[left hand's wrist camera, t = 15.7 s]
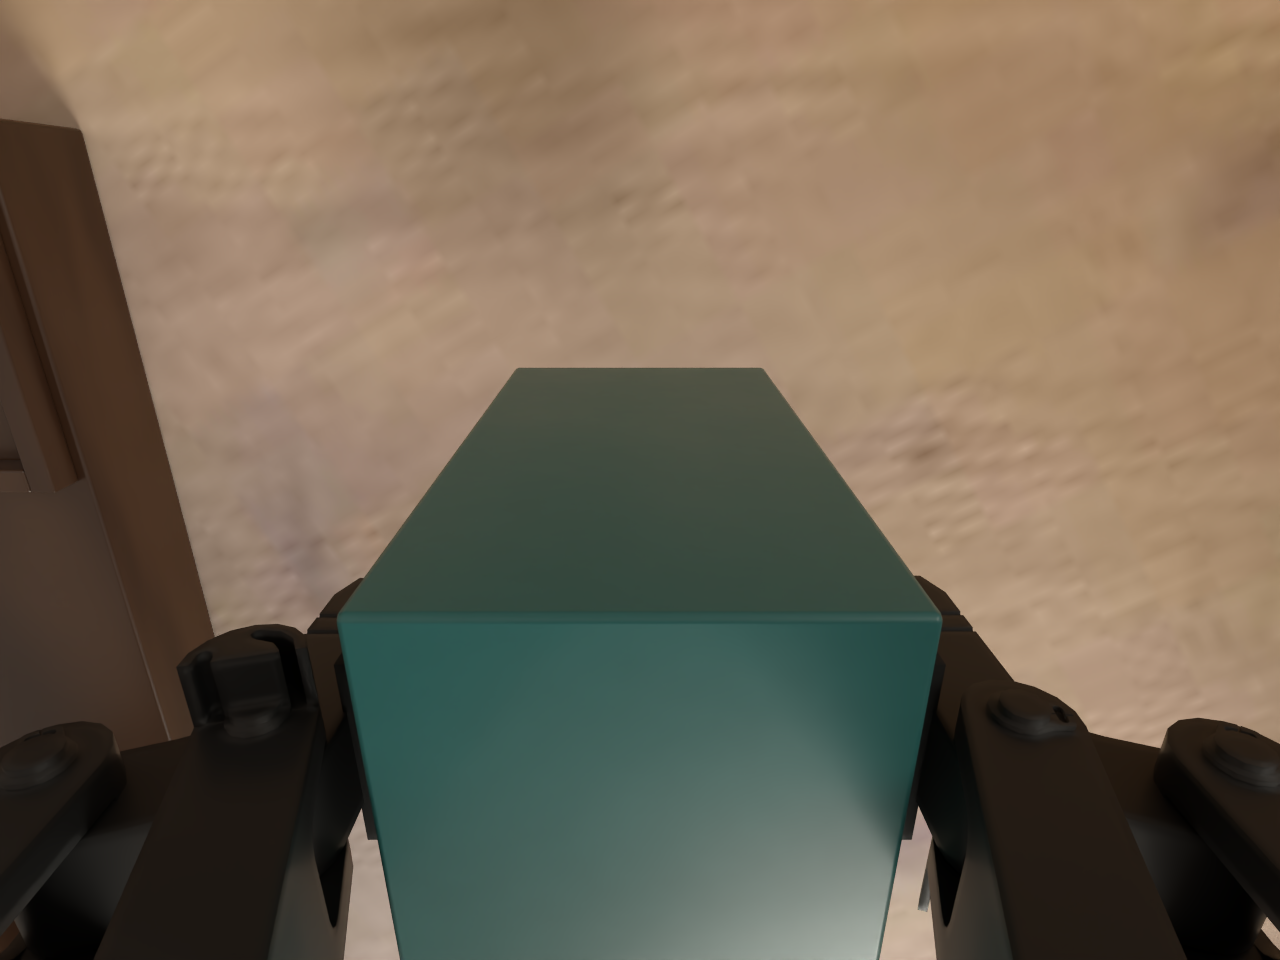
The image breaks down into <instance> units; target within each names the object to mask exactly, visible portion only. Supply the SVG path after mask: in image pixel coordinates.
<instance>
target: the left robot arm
mask: <svg viewBox="0 0 1280 960" xmlns="http://www.w3.org/2000/svg"><path fill="white" fill-rule="evenodd" d="M914 577H915V578H916V580H917V581H918V583H919V584H920V585H921V587H922V588H923V589H924V591H925V592H926V594H927V595H928V596H929V598H930V599H931V600H932V602H933V603H934V605H935V606H936V607H937V609H938V610H939V611H940V613H941V616H942V619H943V620H942V628H941V633H940V638H939V644H938V649H937V654H936V660H935V665H934V670H933V676H932V681H931V686H930V692H929V697H928V702H927V708H926V713H925V718H924V724H923V729H922V734H921V740H920V745H919V750H918V756H917V761H916V766H915V771H914V777H913V782H912V787H911V793H910V798H909V803H908V809H907V814H906V819H905V825H904V830H903V835H902V840H912V835H913V830H914V825H915V820H916V814H917V809H918V806H919V808H920V810H921V812H922V814H923V817H924V819H925V821H926V823H927V825H928V828H929V830H930V832H931V834H932V840H931V845H930V850H929V855H928V859H927V864H926V869H925V874H924V878H923V883H922V888H921V893H920V898H919V905H918V910H922V911H926V912H927V910H928V906H929V901H930V900H931V910H932V919H933V929H934V938H935V948H936V958H937V960H1280V950H1279V949H1278V948H1277V947H1276V946H1275V945H1274V944H1273V943H1272V942H1271V941H1270V939H1269V938H1268V937H1267V936H1266V934H1265V933H1264V932H1263V931H1262V929H1261V928H1262V926H1263V924H1264V921H1265V919H1266V917H1268V919H1269V920H1270V921H1271V922H1272V923H1273V925H1274V926H1275V927H1276V928H1277V929H1278V931H1279V932H1280V744H1279V743H1277V742H1275V741H1273V740H1271V739H1269V738H1267V737H1265V736H1263V735H1261V734H1259V733H1257V732H1255V731H1253V730H1250V729H1248V728H1245V727H1242V726H1241V727H1240V726H1237V725H1236V724H1232V723H1228V722H1224V721H1217V720H1210V719H1203V718H1193V719H1185V720H1178V721H1177V722H1176V723H1174V724H1173V725H1172V726H1170V727H1169V728H1168V729H1167V732H1166V735H1165V738H1164V741H1163V743H1162V746H1161V748H1156V747H1151V746H1147V745H1142V744H1137V743H1133V742H1128V741H1123V740H1118V739H1114V738H1109V737H1104V736H1101V735H1097V734H1093V733H1090V732H1088V729H1087V727H1086V726H1085V724H1084V723H1083V721H1082V720H1081V719H1080V717H1079V716H1078V714H1077V713H1076V712H1075V711H1074V710H1073V709H1072V708H1070V707H1069V706H1068V705H1066V704H1065V703H1064V702H1062V701H1061V700H1060V699H1058V698H1057V697H1055V696H1053V695H1051V694H1049V693H1047V692H1044V691H1042V690H1040V689H1038V688H1036V687H1033V686H1029V685H1026V684H1022V683H1018V682H1014V680H1013V679H1012V678H1011V676H1010V675H1009V674H1008V673H1007V671H1006V670H1005V669H1004V667H1003V666H1002V665H1001V663H1000V662H999V661H998V660H997V658H996V657H995V656H994V654H993V653H992V652H991V651H990V649H989V648H988V647H987V645H986V644H985V643H984V642H983V640H982V639H981V638H980V636H979V635H978V634H977V632H973V627H972V626H971V625H970V623H969V622H968V621H967V620H966V618H965V617H964V616H963V615H960V611H959V609H958V608H957V607H956V605H955V604H954V603H953V601H952V600H951V599H950V598H949V596H948V595H947V594H946V592H944V591H943V590H941V589H940V588H938V587H936V586H935V585H933V584H932V583H930V582H929V581H927V580H926V579H924V578H923V577H921V576H914ZM363 579H364V578H359V579H358V580H356V581H355V582H353V583H352V584H350V585H348V586H347V587H345V588H344V589H342V590H341V591H339V592H338V593H336V594H335V595H334V596H333V597H332V599H331V600H330V601H329V602H328V604H327V605H326V606H325V608H324V609H323V610H322V612H321V613H320V617H319V618H316V619H315V621H314V622H313V623H312V625H311V626H310V627H309V628H308V630H307V631H308V632H307V634H302V633H301V632H300V631H299V630H297V629H296V628H294V627H289V626H284V625H280V624H268V625H253V626H249V627H245V628H240V629H236V630H232V631H229V632H227V633H224V634H222V635H219V636H217V637H215V638H212V639H210V640H207V641H206V642H204V643H203V644H201V645H200V646H198V647H197V648H195V649H194V650H192V651H191V652H189V653H188V654H187V655H186V656H185V657H184V659H183V660H182V661H181V662H180V663H179V664H178V666H177V667H176V669H177V672H178V676H179V679H180V682H181V686H182V689H183V692H184V696H185V699H186V702H187V706H188V709H189V712H190V716H191V719H192V722H193V726H194V728H193V731H192V733H191V735H190V736H186V737H183V738H179V739H176V740H171V741H166V742H162V743H157V744H152V745H148V746H143V747H138V748H133V749H129V750H124V751H119V748H118V745H117V742H116V740H115V737H114V734H113V732H112V731H111V730H110V729H108V728H107V727H106V726H104V725H103V724H102V723H94V722H86V721H79V722H72V723H65V724H58V725H54V726H50V727H46V728H43V729H42V730H40V729H39V730H36V731H34V732H31V733H28V734H26V735H24V736H22V737H21V738H19V739H17V740H15V741H13V742H11V743H9V744H7V745H5V746H3V747H1V748H0V937H1V935H2V934H3V933H4V932H5V930H6V929H7V928H8V927H9V926H10V924H11V923H12V922H13V921H15V923H16V925H17V927H18V929H19V931H20V932H19V933H18V934H17V936H16V937H15V938H14V939H13V941H12V942H11V943H10V944H9V946H8V947H7V948H6V949H5V950H3V951H2V952H1V953H0V960H344V950H345V940H346V931H347V921H348V912H349V902H350V892H351V883H352V873H353V862H352V856H351V850H350V845H349V840H348V837H349V835H350V832H351V830H352V828H353V826H354V824H355V821H356V819H357V817H358V815H359V813H360V810H361V808H362V812H363V817H364V822H365V827H366V832H367V837H368V840H378V839H377V834H376V829H375V823H374V818H373V813H372V807H371V802H370V797H369V791H368V786H367V781H366V776H365V770H364V765H363V760H362V754H361V749H360V744H359V738H358V733H357V728H356V723H355V717H354V712H353V707H352V701H351V696H350V691H349V685H348V680H347V675H346V670H345V664H344V659H343V654H342V648H341V643H340V638H339V633H338V627H337V616H338V613H339V612H340V610H341V609H342V608H343V606H344V605H345V603H346V602H347V601H348V599H349V598H350V597H351V595H352V594H353V592H354V591H355V590H356V588H357V587H358V586H359V584H360V583H361V581H362V580H363Z"/></svg>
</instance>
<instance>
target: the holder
mask: <svg viewBox="0 0 1280 960" xmlns="http://www.w3.org/2000/svg"><path fill="white" fill-rule="evenodd" d="M212 638H215V637H214V633H213V630H212V626H211V622H210V618H209V614H208V611H207V607H206V603H205V599H204V595H203V591H202V588H201V584H200V580H199V576H198V572H197V569H196V565H195V561H194V557H193V553H192V550H191V546H190V542H189V538H188V534H187V531H186V527H185V523H184V519H183V515H182V512H181V508H180V504H179V500H178V496H177V492H176V489H175V485H174V481H173V477H172V473H171V470H170V466H169V462H168V458H167V454H166V451H165V447H164V443H163V439H162V435H161V432H160V428H159V424H158V420H157V416H156V413H155V409H154V405H153V401H152V397H151V394H150V390H149V386H148V382H147V378H146V374H145V371H144V367H143V363H142V359H141V355H140V352H139V348H138V344H137V340H136V336H135V333H134V329H133V325H132V321H131V317H130V314H129V310H128V306H127V302H126V298H125V295H124V291H123V287H122V283H121V279H120V276H119V272H118V268H117V264H116V260H115V256H114V253H113V249H112V245H111V241H110V237H109V234H108V230H107V226H106V222H105V218H104V215H103V211H102V207H101V203H100V199H99V196H98V192H97V188H96V184H95V180H94V177H93V173H92V169H91V165H90V161H89V158H88V154H87V150H86V146H85V142H84V138H83V135H82V132H81V131H80V130H79V129H76V128H68V127H61V126H53V125H45V124H38V123H30V122H22V121H15V120H7V119H0V748H1V747H3V746H5V745H7V744H9V743H11V742H13V741H15V740H17V739H19V738H21V737H22V736H24V735H26V734H28V733H31V732H34V731H36V730H39V729H40V730H42V729H43V728H46V727H50V726H54V725H58V724H65V723H72V722H79V721H86V722H94V723H102V724H103V725H104V726H106V727H107V728H108V729H110V730H111V731H112V732H113V734H114V737H115V740H116V742H117V745H118V748H119V751H124V750H129V749H133V748H138V747H143V746H148V745H152V744H157V743H162V742H166V741H171V740H176V739H179V738H183V737H186V736H190V735H191V733H192V731H193V728H194V726H193V722H192V719H191V716H190V712H189V709H188V706H187V702H186V699H185V696H184V692H183V689H182V686H181V682H180V679H179V676H178V672H177V669H176V667H177V666H178V664H179V663H180V662H181V661H182V660H183V659H184V657H185V656H186V655H187V654H188V653H189V652H191V651H192V650H194V649H195V648H197V647H198V646H200V645H201V644H203V643H204V642H206V641H207V640H210V639H212ZM19 932H20V931H19V929H18V927H17V925H16V923H15V921H13V922H12V923H11V924H10V926H9V927H8V928H7V929H6V930H5V932H4V933H3V934H2V935H1V937H0V953H1V952H2V951H3V950H5V949H6V948H7V947H8V946H9V944H10V943H11V942H12V941H13V939H14V938H15V937H16V936H17V934H18V933H19Z"/></svg>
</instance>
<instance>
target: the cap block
mask: <svg viewBox="0 0 1280 960" xmlns="http://www.w3.org/2000/svg"><path fill="white" fill-rule="evenodd" d="M942 620H943V619H942V616H941V613H940V611H939V610H938V609H937V607H936V606H935V605H934V603H933V602H932V600H931V599H930V598H929V596H928V595H927V594H926V592H925V591H924V589H923V588H922V587H921V585H920V584H919V583H918V581H917V580H916V578H915V577H914V576H913V574H912V573H911V572H910V570H909V569H908V567H907V566H906V565H905V563H904V562H903V561H902V559H901V558H900V556H899V555H898V554H897V552H896V551H895V550H894V548H893V547H892V545H891V544H890V543H889V541H888V540H887V539H886V537H885V536H884V534H883V533H882V532H881V530H880V529H879V528H878V526H877V525H876V523H875V522H874V521H873V519H872V518H871V517H870V515H869V514H868V512H867V511H866V510H865V508H864V507H863V506H862V504H861V503H860V501H859V500H858V499H857V497H856V496H855V495H854V493H853V492H852V490H851V489H850V488H849V486H848V485H847V484H846V482H845V481H844V479H843V478H842V477H841V475H840V474H839V473H838V471H837V470H836V468H835V467H834V466H833V464H832V463H831V462H830V460H829V459H828V457H827V456H826V455H825V453H824V452H823V451H822V449H821V448H820V446H819V445H818V444H817V442H816V441H815V440H814V438H813V437H812V435H811V434H810V433H809V431H808V430H807V429H806V427H805V426H804V424H803V423H802V422H801V420H800V419H799V418H798V416H797V415H796V413H795V412H794V411H793V409H792V408H791V407H790V405H789V404H788V402H787V401H786V400H785V398H784V397H783V396H782V394H781V393H780V391H779V390H778V389H777V387H776V386H775V385H774V383H773V382H772V380H771V379H770V378H769V376H768V375H767V374H766V372H765V371H764V369H762V368H518V369H516V370H515V371H514V373H513V374H512V376H511V377H510V378H509V380H508V381H507V382H506V384H505V385H504V387H503V388H502V389H501V391H500V392H499V393H498V395H497V396H496V398H495V399H494V400H493V402H492V403H491V404H490V406H489V407H488V409H487V410H486V411H485V413H484V414H483V415H482V417H481V418H480V420H479V421H478V422H477V424H476V425H475V426H474V428H473V429H472V431H471V432H470V433H469V435H468V436H467V437H466V439H465V440H464V441H463V443H462V444H461V446H460V447H459V448H458V450H457V451H456V452H455V454H454V455H453V457H452V458H451V459H450V461H449V462H448V463H447V465H446V466H445V468H444V469H443V470H442V472H441V473H440V474H439V476H438V477H437V479H436V480H435V481H434V483H433V484H432V485H431V487H430V488H429V490H428V491H427V492H426V494H425V495H424V496H423V498H422V499H421V501H420V502H419V503H418V505H417V506H416V507H415V509H414V510H413V511H412V513H411V514H410V516H409V517H408V518H407V520H406V521H405V522H404V524H403V525H402V527H401V528H400V529H399V531H398V532H397V533H396V535H395V536H394V538H393V539H392V540H391V542H390V543H389V544H388V546H387V547H386V549H385V550H384V551H383V553H382V554H381V555H380V557H379V558H378V560H377V561H376V562H375V564H374V565H373V566H372V568H371V569H370V571H369V572H368V573H367V575H366V576H365V577H364V579H363V580H362V581H361V583H360V584H359V586H358V587H357V588H356V590H355V591H354V592H353V594H352V595H351V597H350V598H349V599H348V601H347V602H346V603H345V605H344V606H343V608H342V609H341V610H340V612H339V613H338V616H337V627H338V633H339V638H340V643H341V648H342V654H343V659H344V664H345V670H346V675H347V680H348V685H349V691H350V696H351V701H352V707H353V712H354V717H355V723H356V728H357V733H358V738H359V744H360V749H361V754H362V760H363V765H364V770H365V776H366V781H367V786H368V791H369V797H370V802H371V807H372V813H373V818H374V823H375V829H376V834H377V839H378V844H379V850H380V855H381V860H382V866H383V871H384V876H385V882H386V887H387V892H388V897H389V903H390V908H391V913H392V919H393V924H394V929H395V935H396V940H397V945H398V950H399V956H400V960H879V958H880V952H881V947H882V942H883V936H884V931H885V926H886V920H887V915H888V910H889V904H890V899H891V894H892V889H893V883H894V878H895V873H896V867H897V862H898V857H899V851H900V846H901V841H902V835H903V830H904V825H905V819H906V814H907V809H908V803H909V798H910V793H911V787H912V782H913V777H914V771H915V766H916V761H917V756H918V750H919V745H920V740H921V734H922V729H923V724H924V718H925V713H926V708H927V702H928V697H929V692H930V686H931V681H932V676H933V670H934V665H935V660H936V654H937V649H938V644H939V638H940V633H941V628H942Z"/></svg>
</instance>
